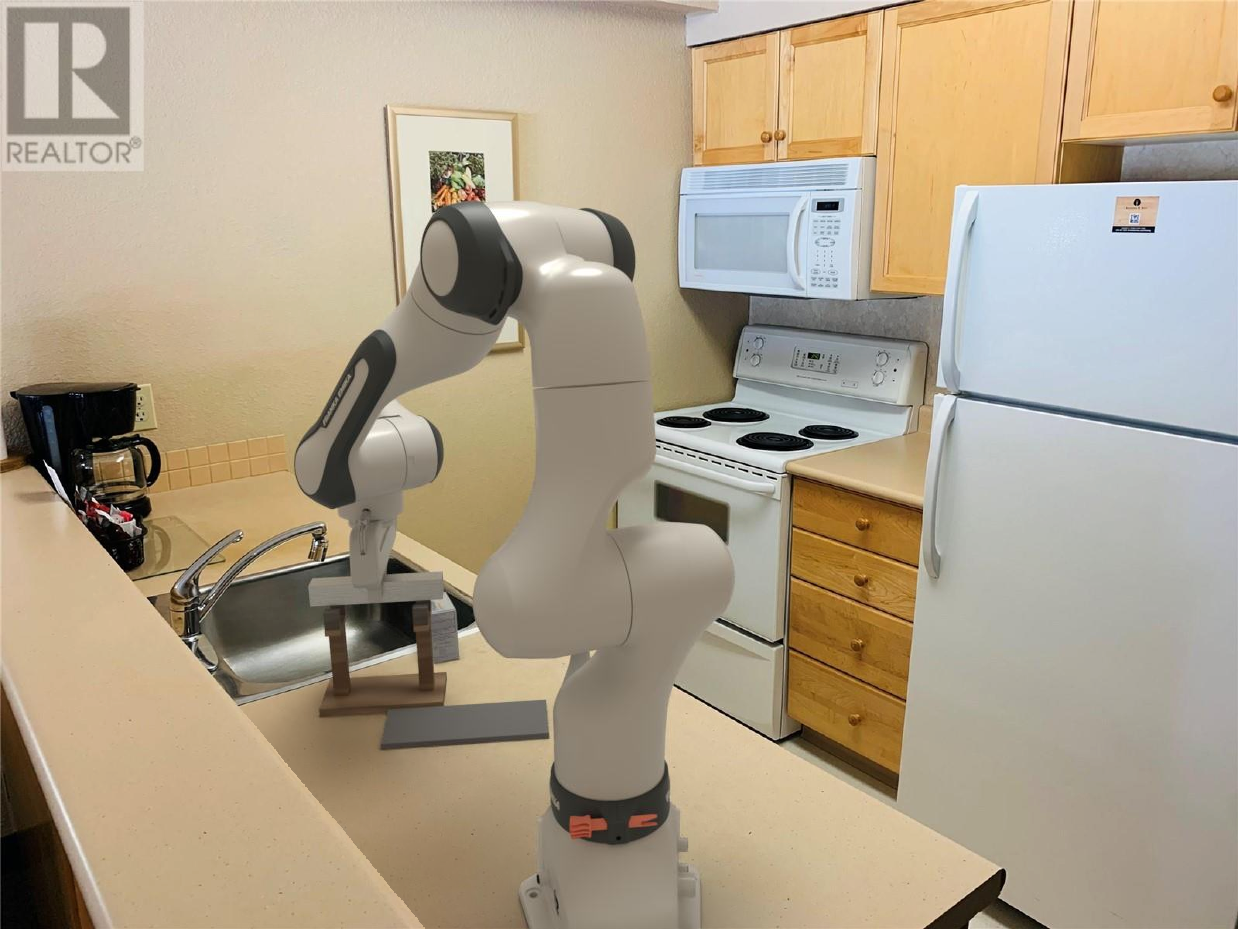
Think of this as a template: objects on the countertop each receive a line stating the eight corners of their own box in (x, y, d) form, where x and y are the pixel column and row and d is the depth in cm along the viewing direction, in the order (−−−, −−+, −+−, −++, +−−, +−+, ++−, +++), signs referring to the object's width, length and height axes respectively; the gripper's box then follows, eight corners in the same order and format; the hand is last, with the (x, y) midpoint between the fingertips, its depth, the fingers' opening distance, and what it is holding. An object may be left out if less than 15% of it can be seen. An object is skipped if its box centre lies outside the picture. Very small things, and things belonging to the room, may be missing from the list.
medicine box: (460, 660, 150) (457, 608, 148) (431, 665, 148) (428, 613, 146) (449, 639, 157) (446, 590, 155) (422, 644, 155) (419, 594, 153)
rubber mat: (549, 738, 128) (548, 732, 127) (380, 749, 125) (380, 744, 125) (546, 704, 136) (546, 699, 136) (388, 714, 134) (388, 709, 134)
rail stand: (443, 709, 135) (437, 611, 131) (319, 717, 133) (309, 617, 129) (446, 679, 144) (441, 586, 140) (330, 686, 142) (322, 592, 138)
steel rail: (442, 599, 134) (441, 579, 133) (310, 606, 132) (308, 586, 131) (443, 591, 137) (442, 571, 136) (314, 598, 135) (312, 578, 134)
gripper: (385, 522, 121) (392, 623, 124) (401, 479, 141) (407, 568, 144) (333, 524, 120) (343, 626, 124) (357, 481, 140) (364, 570, 143)
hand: (378, 594), depth 134 cm, fingers closed on steel rail, 3 cm apart
